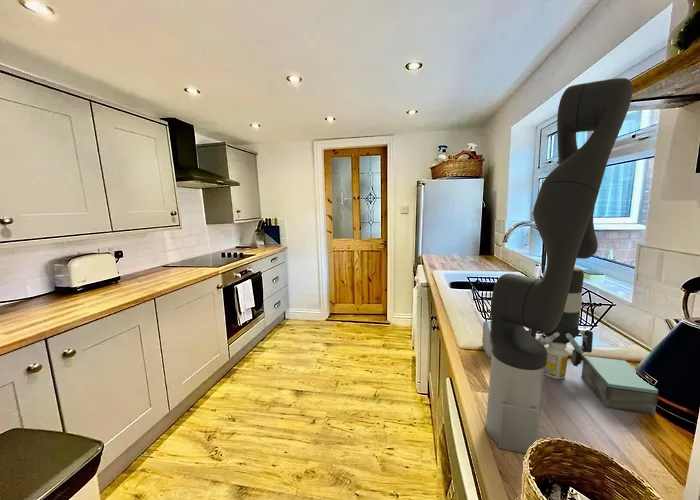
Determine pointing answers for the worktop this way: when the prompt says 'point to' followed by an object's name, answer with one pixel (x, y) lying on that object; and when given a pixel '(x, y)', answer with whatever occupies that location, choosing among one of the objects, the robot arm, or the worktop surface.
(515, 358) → the robot arm
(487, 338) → the medicine box
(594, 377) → the storage box
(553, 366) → the supplement bottle
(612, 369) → the lid
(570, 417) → the worktop surface
